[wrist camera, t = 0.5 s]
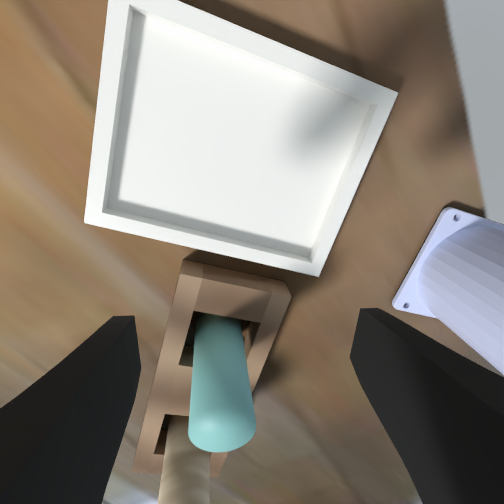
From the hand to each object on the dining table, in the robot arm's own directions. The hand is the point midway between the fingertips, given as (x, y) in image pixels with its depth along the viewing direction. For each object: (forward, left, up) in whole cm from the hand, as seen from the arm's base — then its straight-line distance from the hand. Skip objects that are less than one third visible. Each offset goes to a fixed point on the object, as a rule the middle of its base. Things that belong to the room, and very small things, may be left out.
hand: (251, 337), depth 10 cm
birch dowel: (-1, +16, -10) cm, 19 cm away
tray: (+1, -4, -10) cm, 11 cm away
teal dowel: (-1, +7, -10) cm, 12 cm away
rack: (-1, +12, -10) cm, 15 cm away
